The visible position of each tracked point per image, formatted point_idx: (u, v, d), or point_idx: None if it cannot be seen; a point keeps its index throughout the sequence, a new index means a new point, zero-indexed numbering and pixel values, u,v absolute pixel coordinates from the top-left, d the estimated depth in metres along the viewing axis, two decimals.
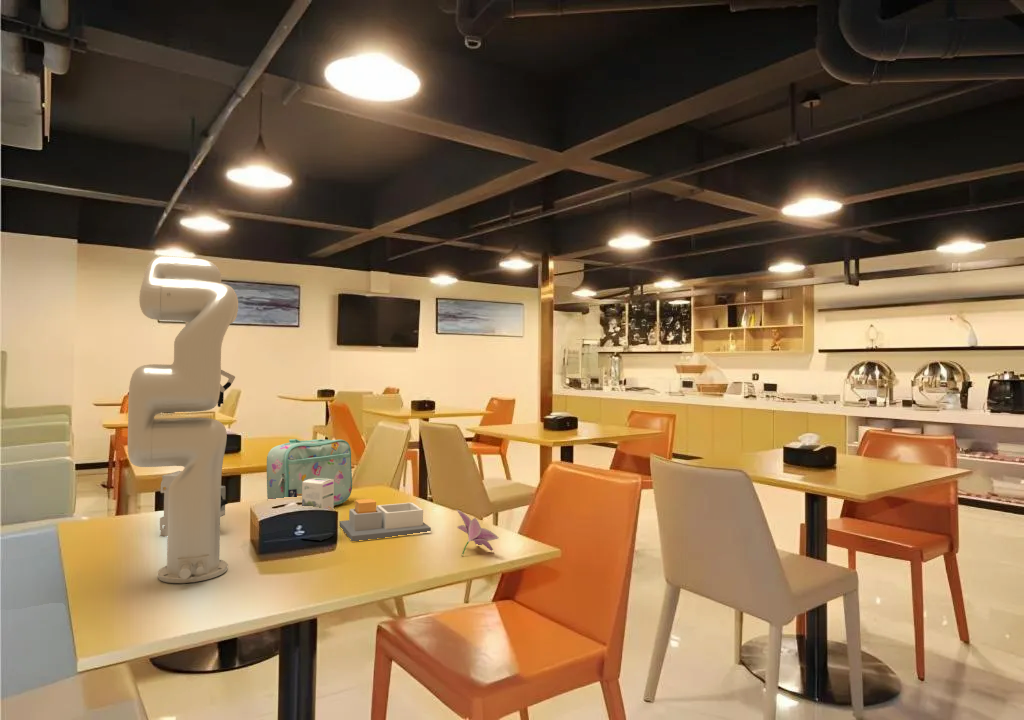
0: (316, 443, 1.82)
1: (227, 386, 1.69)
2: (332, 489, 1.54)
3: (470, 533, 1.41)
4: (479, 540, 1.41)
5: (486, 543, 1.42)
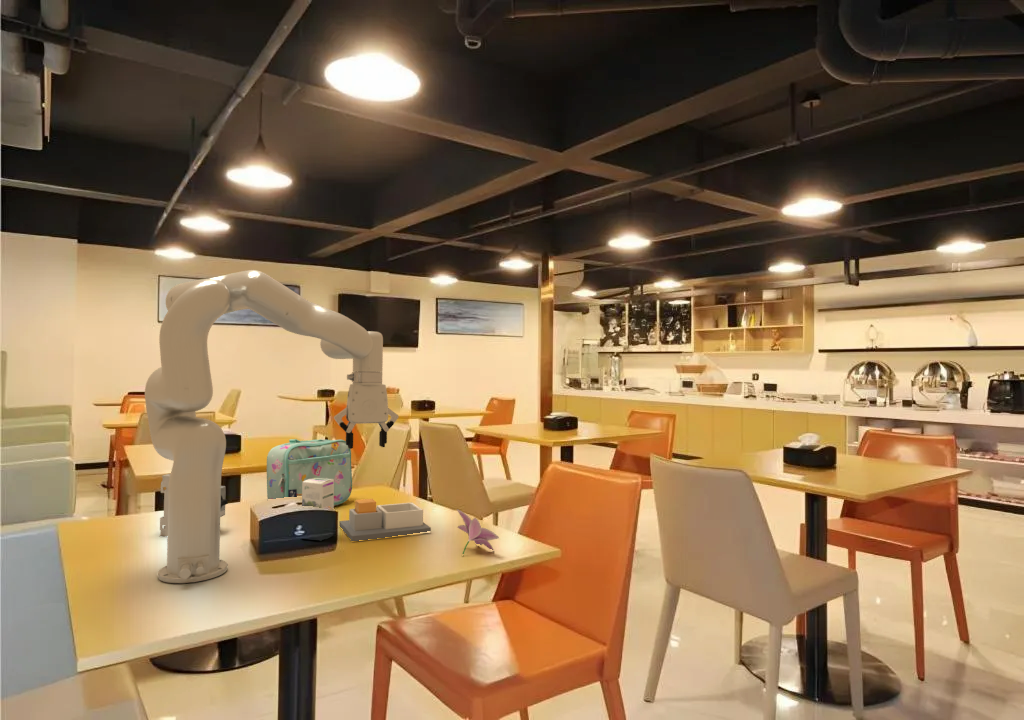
0: (316, 443, 1.82)
1: (390, 425, 1.61)
2: (332, 489, 1.54)
3: (470, 533, 1.41)
4: (479, 540, 1.42)
5: (486, 543, 1.42)
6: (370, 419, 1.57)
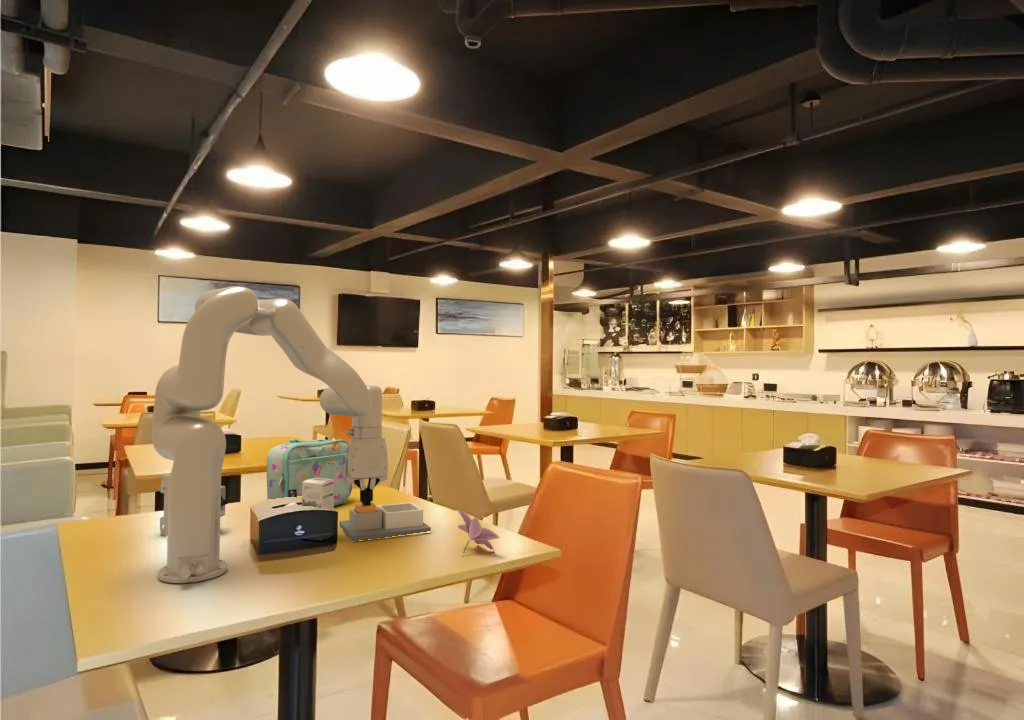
0: (316, 443, 1.82)
1: (376, 482, 1.59)
2: (332, 489, 1.54)
3: (471, 532, 1.41)
4: (479, 539, 1.42)
5: (486, 542, 1.42)
6: (370, 474, 1.57)
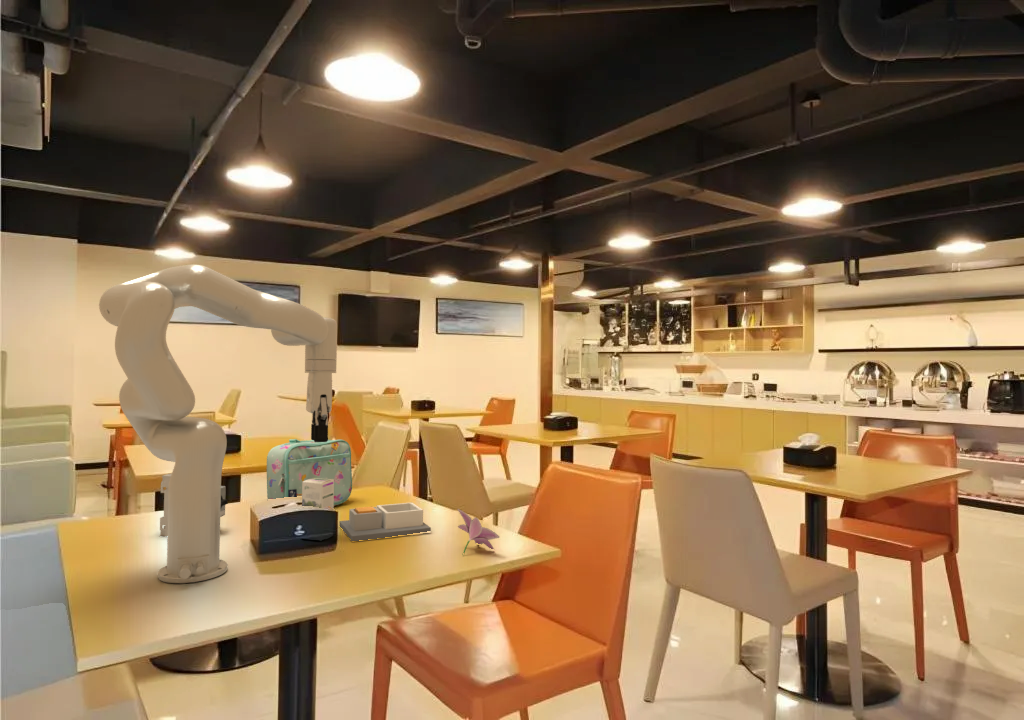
0: (316, 443, 1.82)
1: (319, 420, 1.49)
2: (332, 489, 1.54)
3: (471, 532, 1.42)
4: (480, 539, 1.42)
5: (487, 542, 1.43)
6: (308, 408, 1.52)
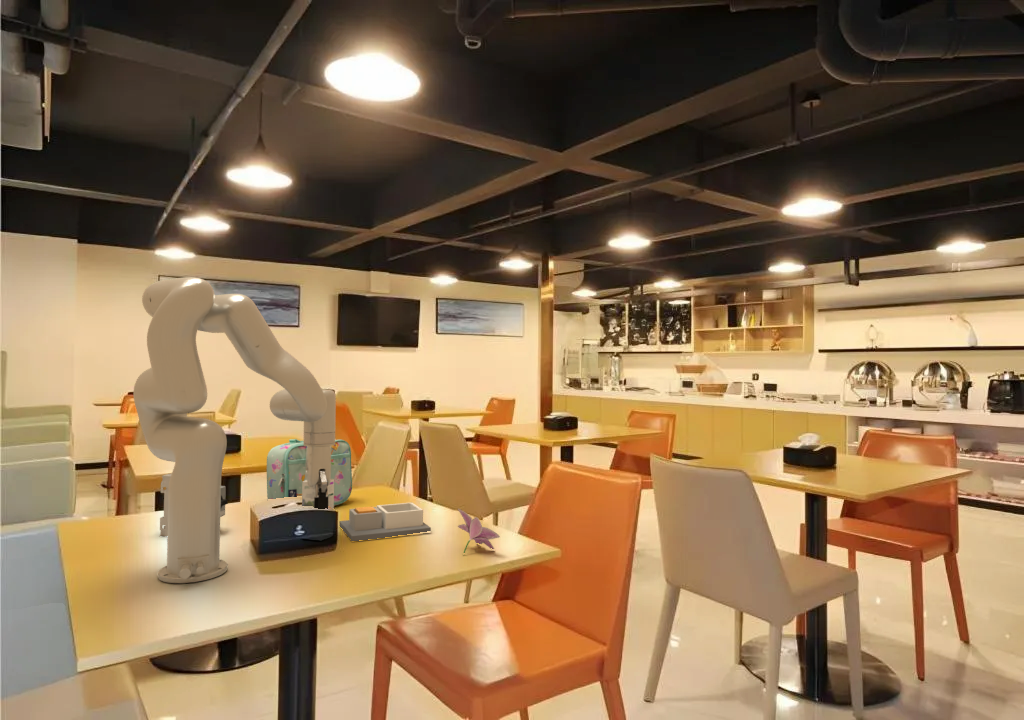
0: None
1: (319, 492, 1.47)
2: (332, 489, 1.54)
3: (471, 532, 1.42)
4: (480, 539, 1.42)
5: (487, 542, 1.43)
6: (307, 481, 1.51)
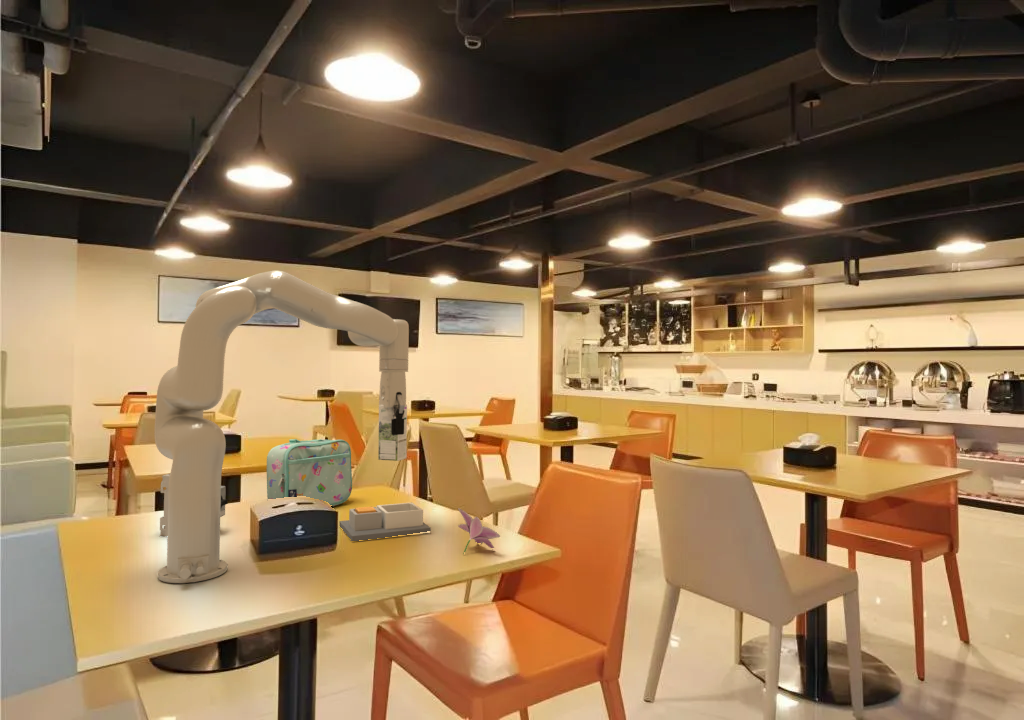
0: (316, 443, 1.82)
1: (396, 413, 1.56)
2: (405, 413, 1.63)
3: (471, 532, 1.42)
4: (480, 538, 1.43)
5: (487, 541, 1.43)
6: None
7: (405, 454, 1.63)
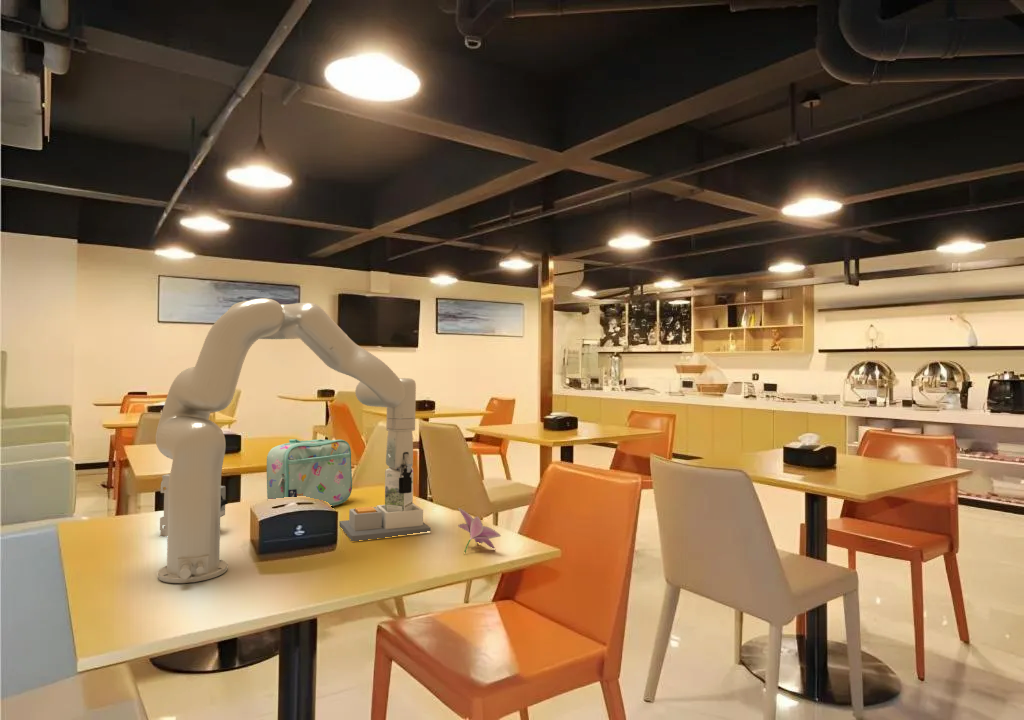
0: (316, 443, 1.82)
1: (404, 472, 1.57)
2: (412, 477, 1.64)
3: (472, 531, 1.43)
4: (481, 538, 1.43)
5: (487, 541, 1.44)
6: (390, 464, 1.62)
7: None
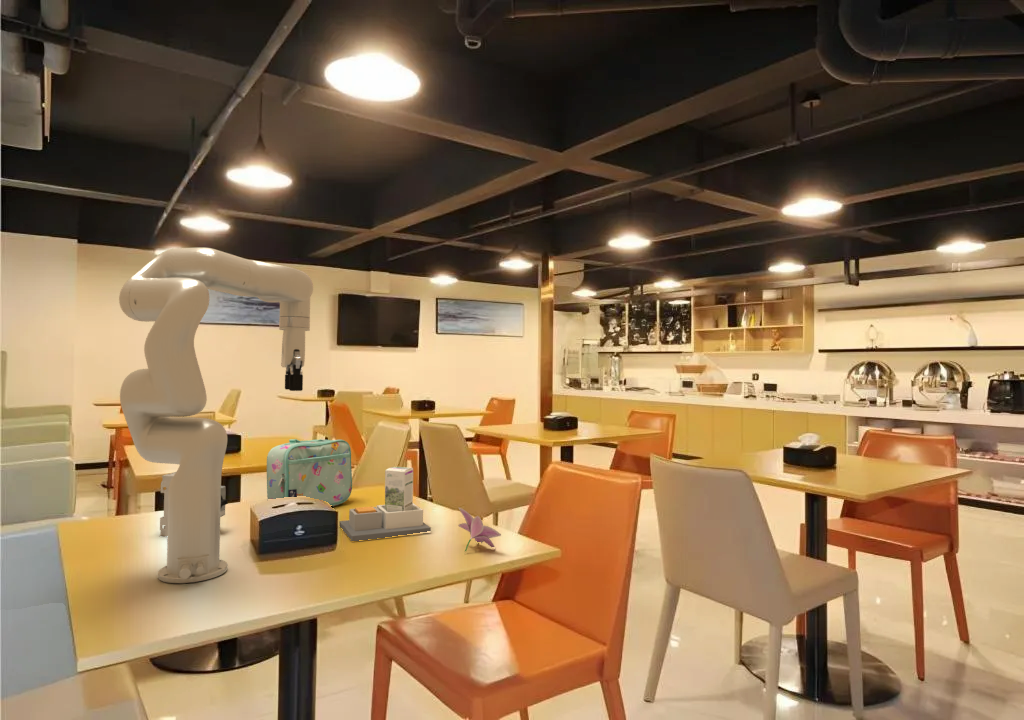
0: (316, 443, 1.82)
1: (293, 368, 1.54)
2: (412, 477, 1.64)
3: (472, 531, 1.43)
4: (481, 537, 1.44)
5: (488, 540, 1.44)
6: (282, 363, 1.59)
7: None
